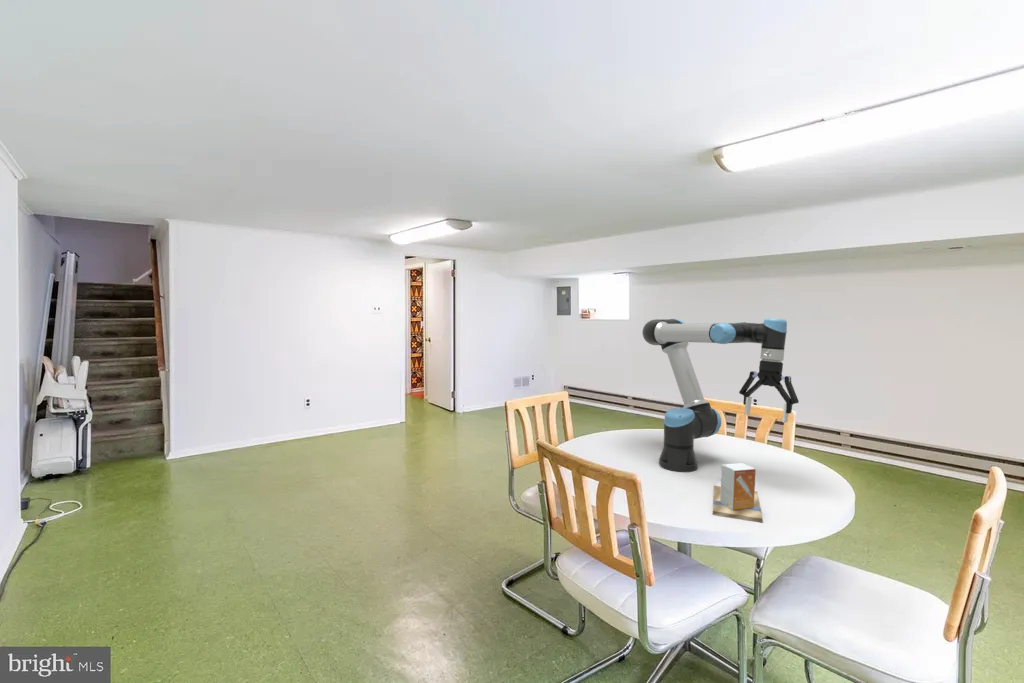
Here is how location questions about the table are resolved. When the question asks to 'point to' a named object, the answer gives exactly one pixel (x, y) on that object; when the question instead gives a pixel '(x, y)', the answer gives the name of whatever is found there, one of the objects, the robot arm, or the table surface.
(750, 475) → the small box
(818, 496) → the table surface
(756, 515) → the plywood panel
